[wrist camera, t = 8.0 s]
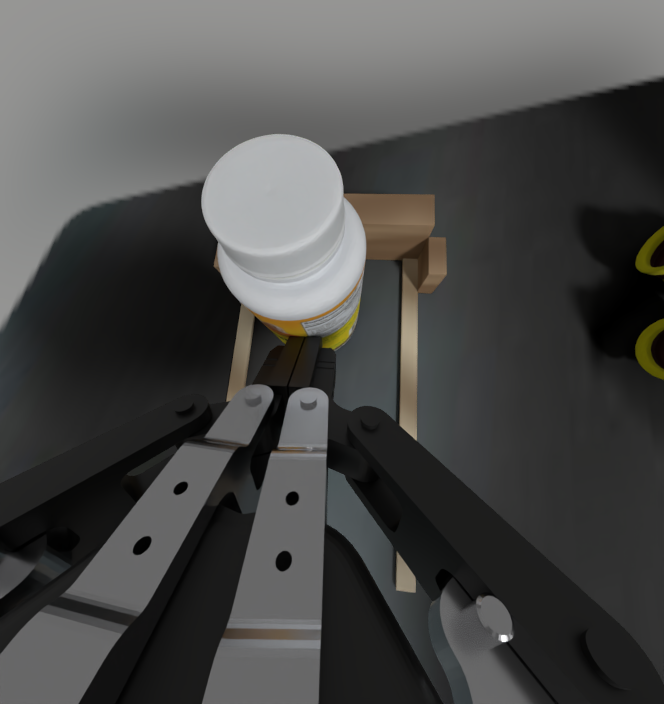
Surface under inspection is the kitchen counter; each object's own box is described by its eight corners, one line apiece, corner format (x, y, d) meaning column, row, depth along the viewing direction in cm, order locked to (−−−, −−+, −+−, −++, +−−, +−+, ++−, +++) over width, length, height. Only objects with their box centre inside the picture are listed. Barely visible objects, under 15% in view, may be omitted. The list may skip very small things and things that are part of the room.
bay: (433, 591, 13) (464, 660, 10) (187, 559, 14) (135, 610, 11) (431, 235, 17) (452, 194, 14) (241, 231, 18) (216, 192, 15)
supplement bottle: (263, 304, 17) (143, 161, 7) (333, 267, 17) (313, 80, 7) (298, 373, 16) (215, 321, 6) (372, 333, 16) (415, 218, 6)
